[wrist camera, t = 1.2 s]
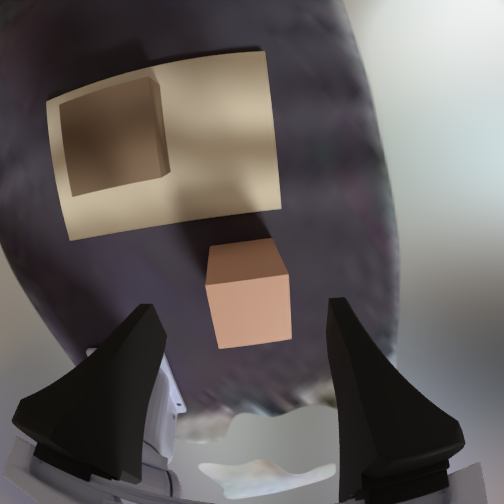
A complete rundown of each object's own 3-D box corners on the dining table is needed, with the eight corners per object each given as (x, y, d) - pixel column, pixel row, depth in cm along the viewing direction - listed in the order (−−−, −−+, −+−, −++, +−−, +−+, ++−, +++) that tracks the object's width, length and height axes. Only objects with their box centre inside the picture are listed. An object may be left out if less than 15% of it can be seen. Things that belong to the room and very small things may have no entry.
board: (279, 206, 20) (281, 208, 20) (73, 238, 20) (70, 240, 19) (263, 53, 16) (264, 51, 16) (50, 102, 16) (46, 101, 15)
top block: (276, 291, 23) (291, 338, 17) (219, 299, 23) (218, 348, 17) (271, 237, 21) (288, 274, 16) (209, 246, 21) (205, 285, 16)
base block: (170, 171, 18) (161, 177, 16) (91, 188, 18) (72, 197, 15) (160, 85, 16) (148, 76, 13) (80, 107, 16) (58, 104, 13)
